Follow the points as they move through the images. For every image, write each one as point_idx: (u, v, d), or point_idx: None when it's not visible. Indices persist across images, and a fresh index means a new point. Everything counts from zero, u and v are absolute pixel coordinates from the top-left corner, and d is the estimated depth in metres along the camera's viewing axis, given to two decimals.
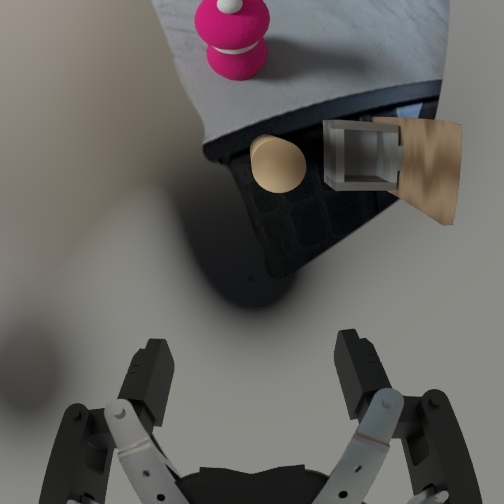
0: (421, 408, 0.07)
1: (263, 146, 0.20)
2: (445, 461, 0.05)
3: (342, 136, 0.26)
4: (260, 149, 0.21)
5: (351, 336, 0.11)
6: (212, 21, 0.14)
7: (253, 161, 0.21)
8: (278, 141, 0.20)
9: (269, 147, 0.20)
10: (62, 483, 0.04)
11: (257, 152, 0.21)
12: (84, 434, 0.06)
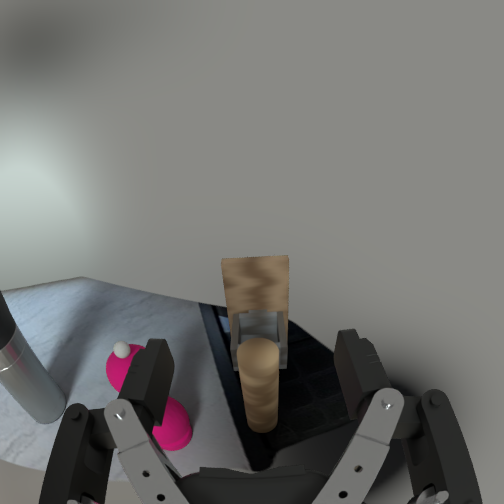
0: (421, 408, 0.07)
1: (240, 361, 0.26)
2: (445, 461, 0.05)
3: None
4: (243, 363, 0.26)
5: (351, 336, 0.11)
6: None
7: (252, 367, 0.25)
8: (237, 352, 0.27)
9: (242, 357, 0.27)
10: (62, 483, 0.04)
11: (245, 364, 0.26)
12: (84, 434, 0.06)
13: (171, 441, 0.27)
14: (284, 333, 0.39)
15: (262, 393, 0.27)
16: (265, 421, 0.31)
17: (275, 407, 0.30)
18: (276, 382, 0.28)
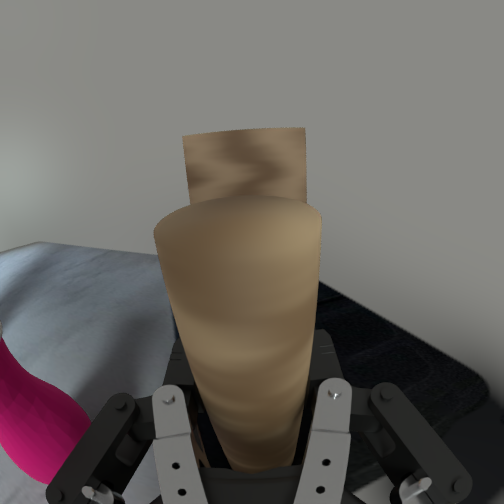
0: (373, 405, 0.08)
1: (161, 239, 0.06)
2: (416, 450, 0.05)
3: None
4: (168, 244, 0.06)
5: None
6: None
7: (205, 254, 0.05)
8: (161, 222, 0.07)
9: (170, 231, 0.07)
10: (84, 468, 0.05)
11: (175, 248, 0.06)
12: (124, 427, 0.07)
13: None
14: None
15: (260, 397, 0.07)
16: (268, 464, 0.11)
17: (295, 432, 0.10)
18: (308, 355, 0.08)
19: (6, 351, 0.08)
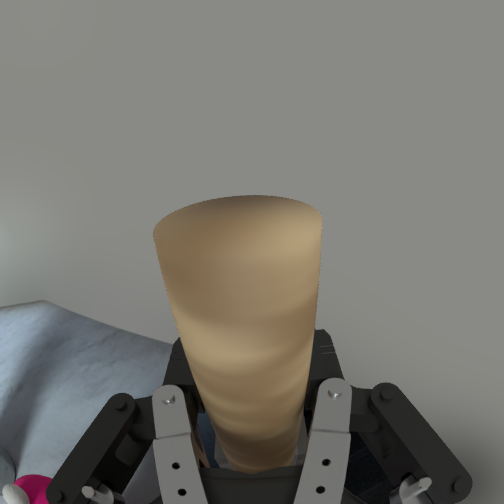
0: (373, 405, 0.08)
1: (160, 240, 0.06)
2: (415, 450, 0.05)
3: None
4: (167, 245, 0.06)
5: None
6: None
7: (204, 255, 0.05)
8: (161, 223, 0.07)
9: (170, 232, 0.07)
10: (84, 468, 0.05)
11: (174, 249, 0.06)
12: (124, 427, 0.07)
13: None
14: (303, 427, 0.20)
15: (260, 398, 0.07)
16: (268, 465, 0.11)
17: (295, 433, 0.10)
18: (308, 356, 0.08)
19: None
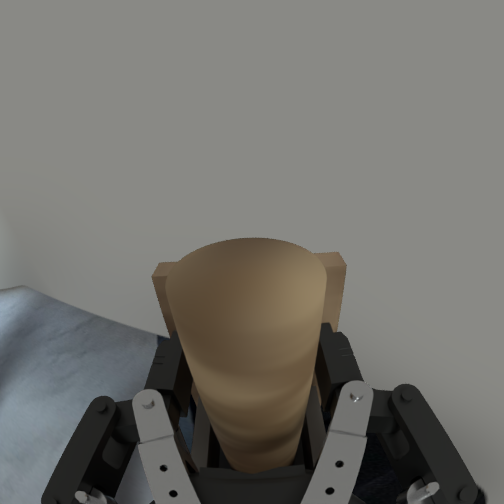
0: (393, 405, 0.07)
1: (174, 299, 0.06)
2: (428, 453, 0.05)
3: None
4: (181, 307, 0.06)
5: (325, 329, 0.11)
6: None
7: (218, 323, 0.06)
8: (172, 274, 0.08)
9: (182, 289, 0.07)
10: (74, 473, 0.05)
11: (189, 314, 0.06)
12: (107, 428, 0.07)
13: None
14: None
15: (264, 425, 0.08)
16: None
17: (295, 447, 0.11)
18: (308, 388, 0.08)
19: None
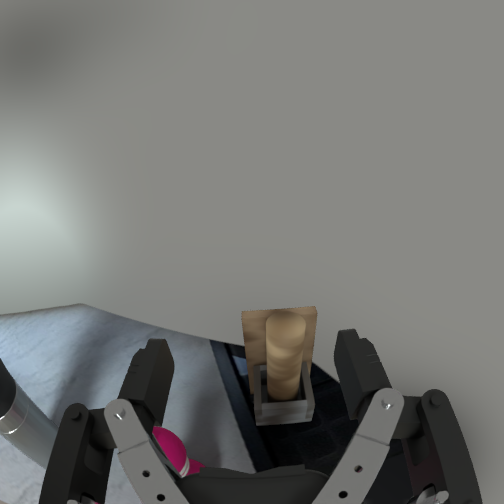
0: (421, 408, 0.07)
1: (270, 331, 0.28)
2: (445, 461, 0.05)
3: (268, 404, 0.32)
4: (273, 333, 0.28)
5: (351, 336, 0.11)
6: None
7: (282, 337, 0.27)
8: (266, 324, 0.29)
9: (271, 329, 0.29)
10: (62, 483, 0.04)
11: (275, 335, 0.28)
12: (84, 434, 0.06)
13: None
14: (310, 388, 0.34)
15: (289, 365, 0.29)
16: (287, 397, 0.33)
17: (297, 382, 0.33)
18: (301, 354, 0.30)
19: None
